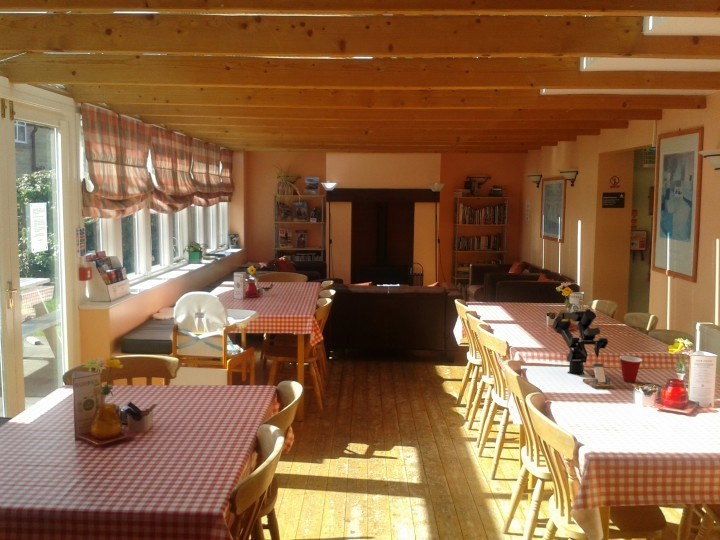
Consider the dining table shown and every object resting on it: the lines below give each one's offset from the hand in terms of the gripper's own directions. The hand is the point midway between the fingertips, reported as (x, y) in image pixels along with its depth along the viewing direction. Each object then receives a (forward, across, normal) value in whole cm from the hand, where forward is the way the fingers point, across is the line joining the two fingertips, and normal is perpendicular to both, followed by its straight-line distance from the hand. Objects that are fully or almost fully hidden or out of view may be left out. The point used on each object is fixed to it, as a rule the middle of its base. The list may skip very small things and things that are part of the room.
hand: (592, 356), depth 357 cm
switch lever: (+16, 0, -2) cm, 16 cm away
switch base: (+15, 0, +3) cm, 15 cm away
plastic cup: (+8, +21, +10) cm, 24 cm away
